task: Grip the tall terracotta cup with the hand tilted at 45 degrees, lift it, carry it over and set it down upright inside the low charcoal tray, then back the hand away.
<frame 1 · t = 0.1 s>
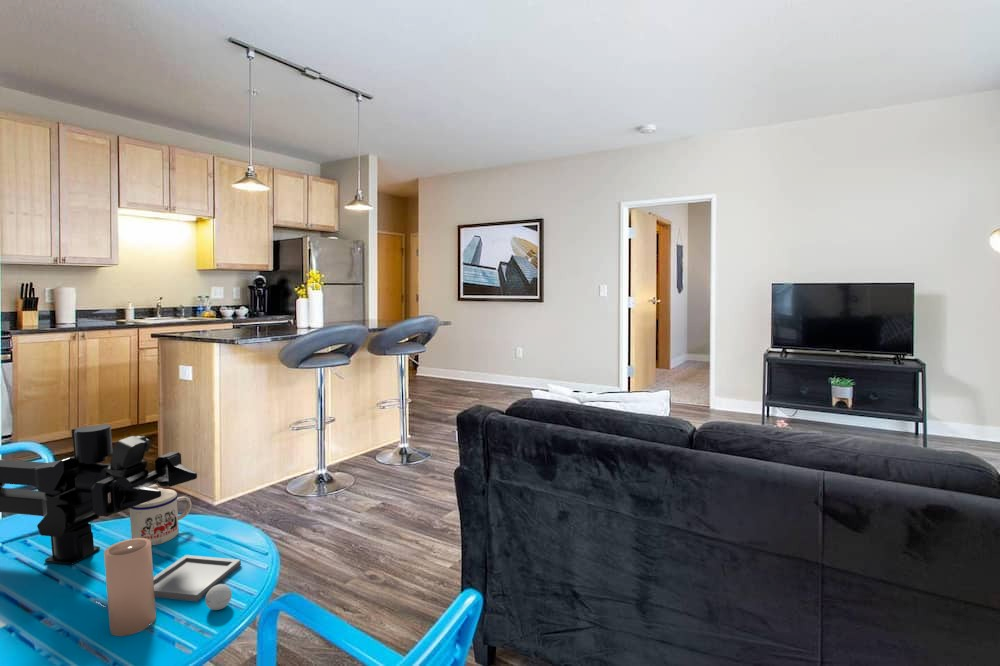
hand: (179, 484, 103), 17 cm above the table, tool horizontal, fingers open, 9 cm apart
terracotta cup: (133, 623, 88), on the table
charcoal tray: (191, 579, 100), on the table
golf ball: (219, 609, 92), on the table
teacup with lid: (163, 535, 118), on the table
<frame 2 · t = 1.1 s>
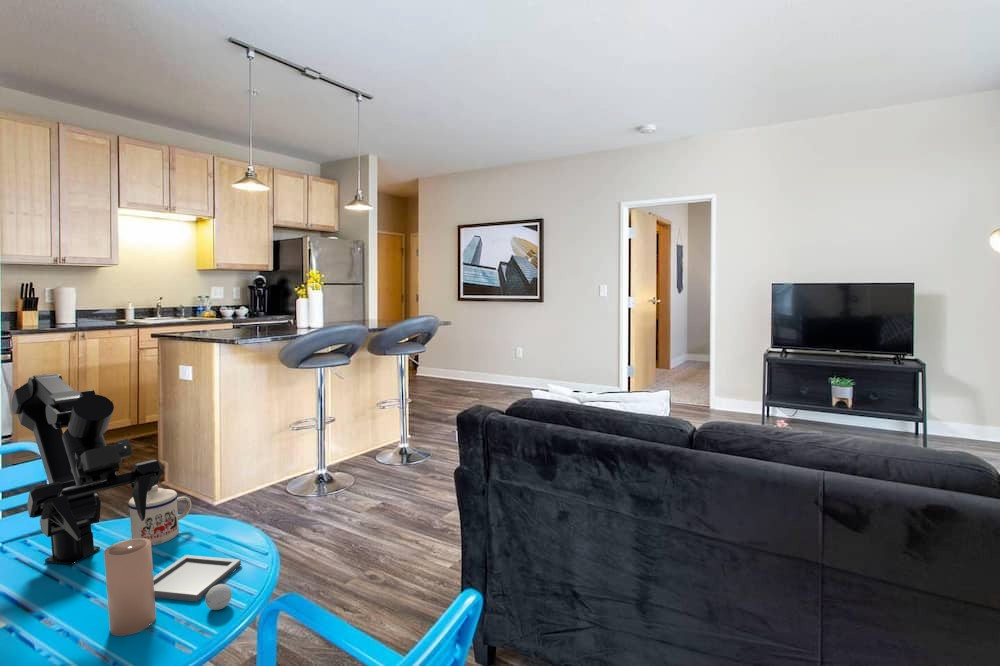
hand: (112, 528, 91), 14 cm above the table, tool tilted 45°, fingers open, 9 cm apart
nothing on the table moved.
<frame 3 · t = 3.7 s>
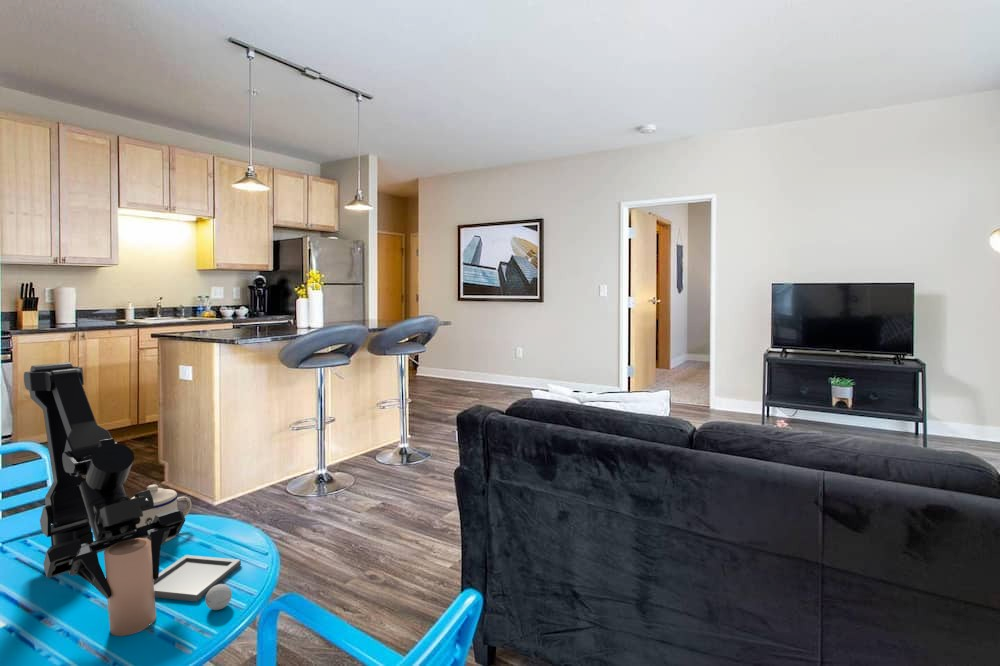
hand: (133, 588, 86), 7 cm above the table, tool tilted 45°, fingers closed on terracotta cup, 6 cm apart
terracotta cup: (133, 623, 88), on the table, touching gripper
everything else where it was.
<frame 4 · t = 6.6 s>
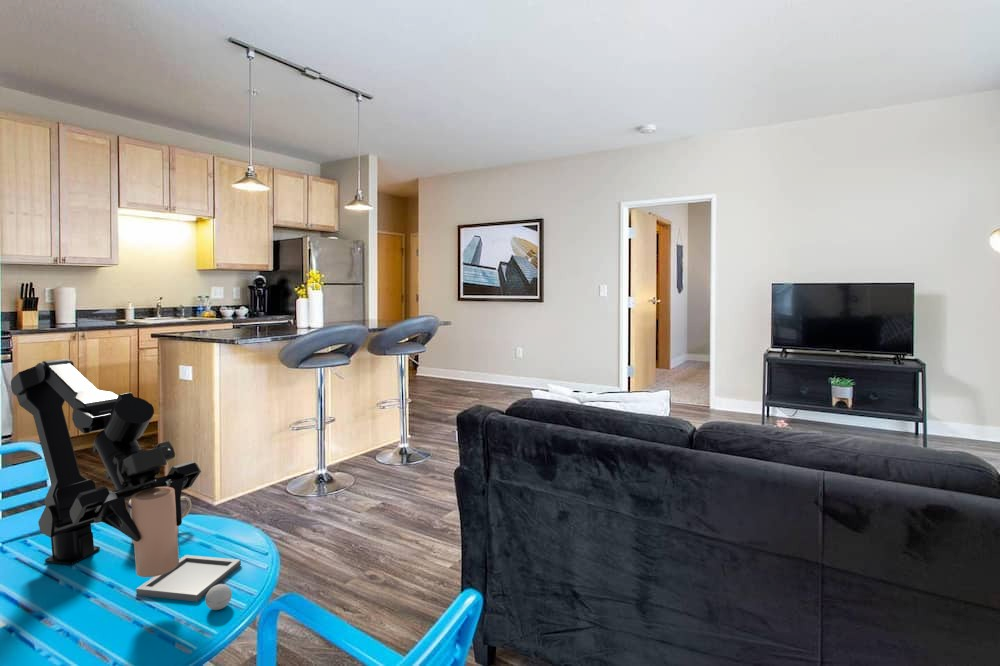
hand: (160, 532, 90), 13 cm above the table, tool tilted 45°, fingers closed on terracotta cup, 6 cm apart
terracotta cup: (158, 567, 92), point 7 cm above the table, touching gripper
everything else where it was.
when the fingers open (8 cm above the table, at t = 9.3 s): terracotta cup drops 1 cm, resting on charcoal tray.
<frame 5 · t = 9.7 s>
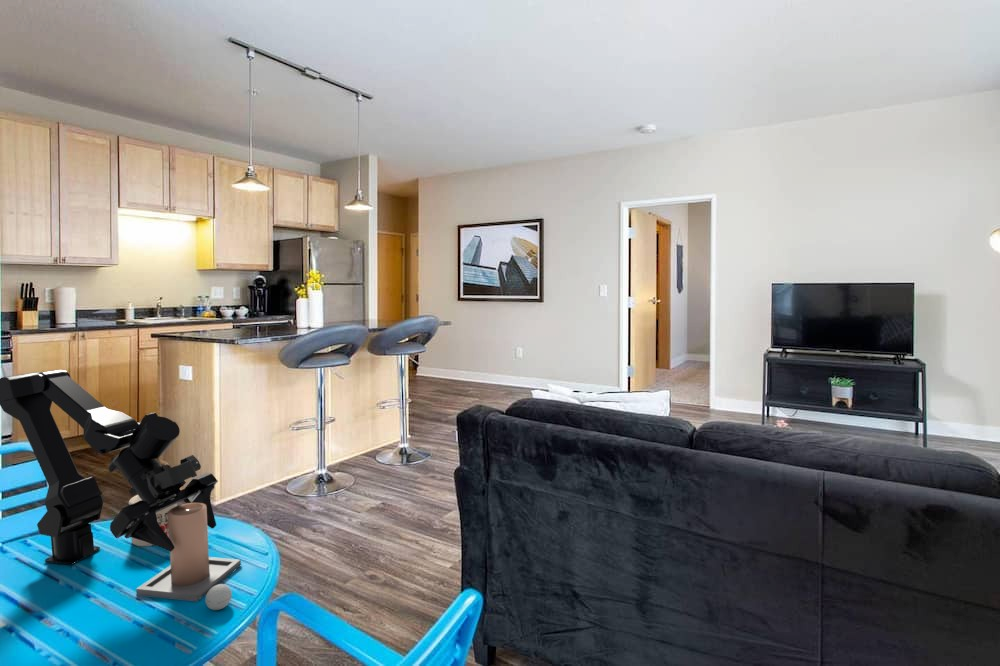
hand: (194, 537, 99), 8 cm above the table, tool tilted 45°, fingers open, 9 cm apart
terracotta cup: (190, 576, 100), point 1 cm above the table, touching charcoal tray
everything else where it was.
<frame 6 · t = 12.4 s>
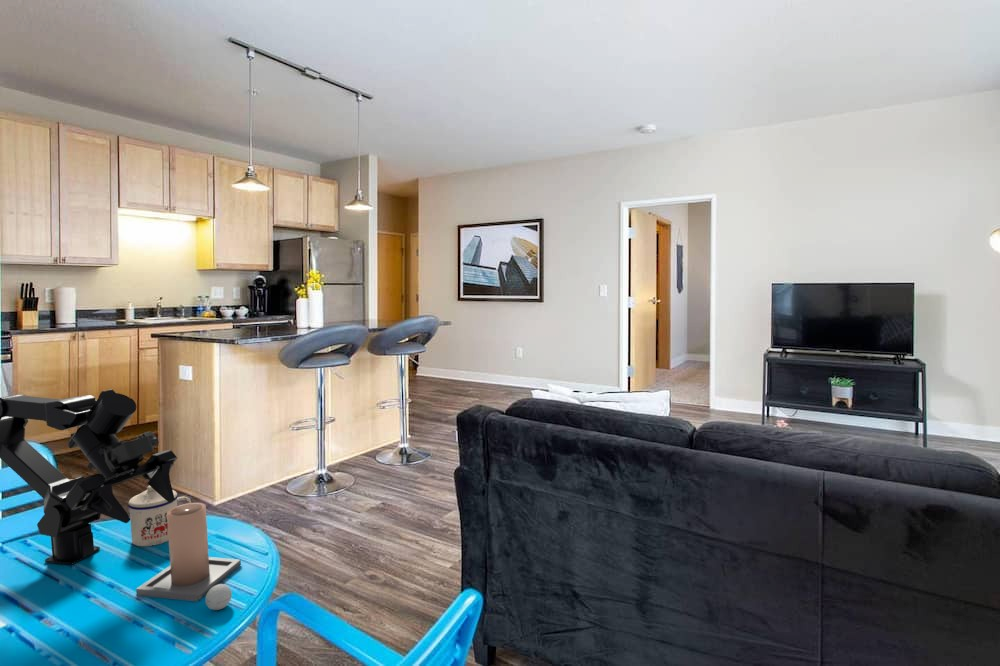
hand: (151, 511, 101), 12 cm above the table, tool tilted 45°, fingers open, 9 cm apart
nothing on the table moved.
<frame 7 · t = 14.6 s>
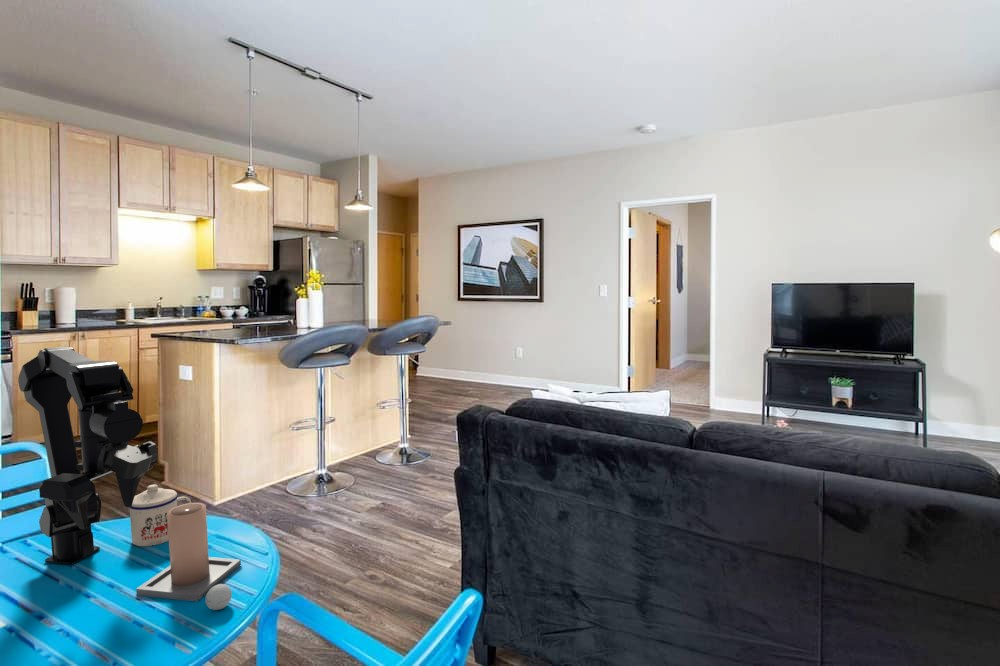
hand: (106, 517, 97), 13 cm above the table, tool pointing down, fingers open, 9 cm apart
nothing on the table moved.
at the end: terracotta cup inside the target area on the charcoal tray (0.0 cm from its centre), point 0.6 cm above the charcoal tray's base; terracotta cup tilted 0°; the gripper is holding nothing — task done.
